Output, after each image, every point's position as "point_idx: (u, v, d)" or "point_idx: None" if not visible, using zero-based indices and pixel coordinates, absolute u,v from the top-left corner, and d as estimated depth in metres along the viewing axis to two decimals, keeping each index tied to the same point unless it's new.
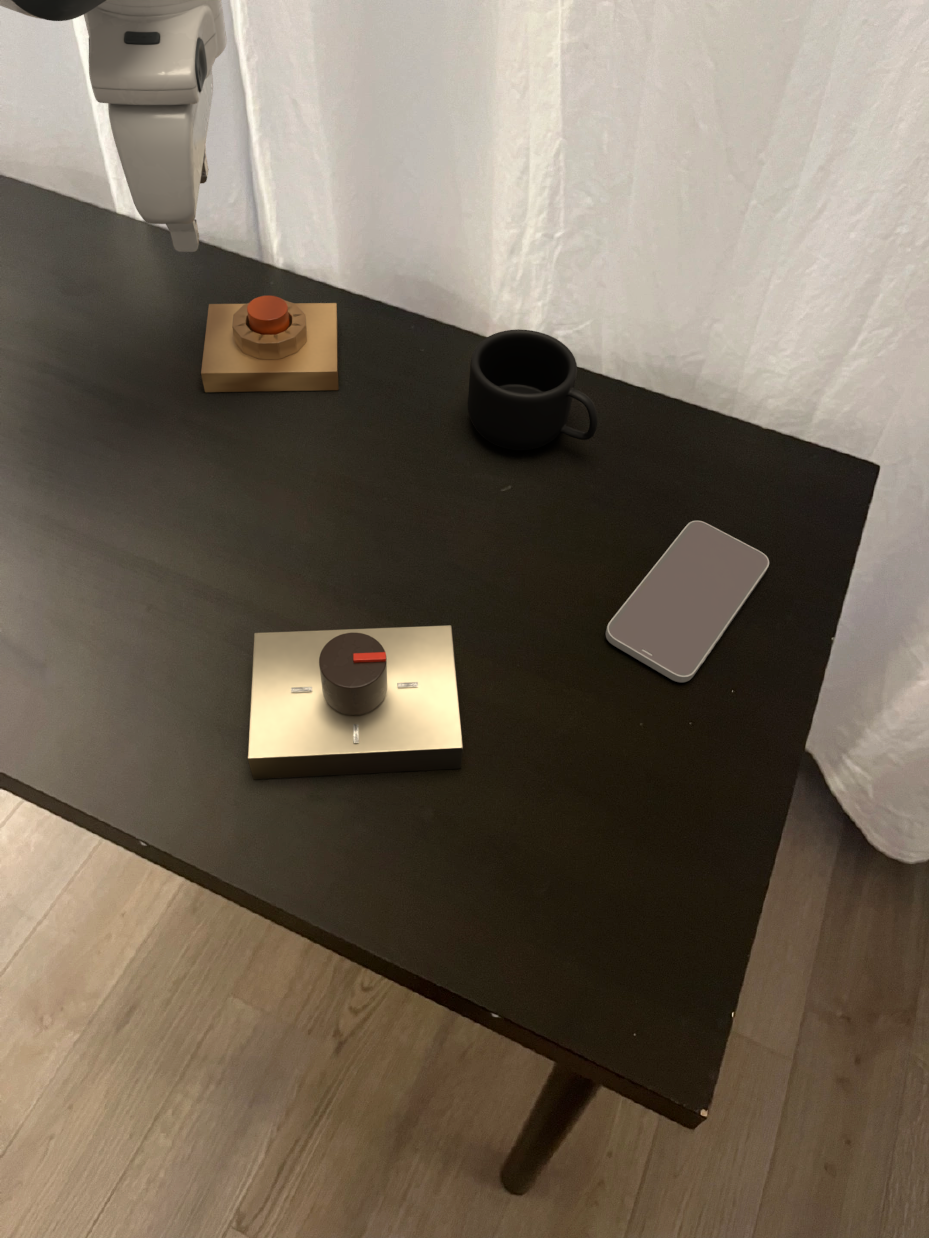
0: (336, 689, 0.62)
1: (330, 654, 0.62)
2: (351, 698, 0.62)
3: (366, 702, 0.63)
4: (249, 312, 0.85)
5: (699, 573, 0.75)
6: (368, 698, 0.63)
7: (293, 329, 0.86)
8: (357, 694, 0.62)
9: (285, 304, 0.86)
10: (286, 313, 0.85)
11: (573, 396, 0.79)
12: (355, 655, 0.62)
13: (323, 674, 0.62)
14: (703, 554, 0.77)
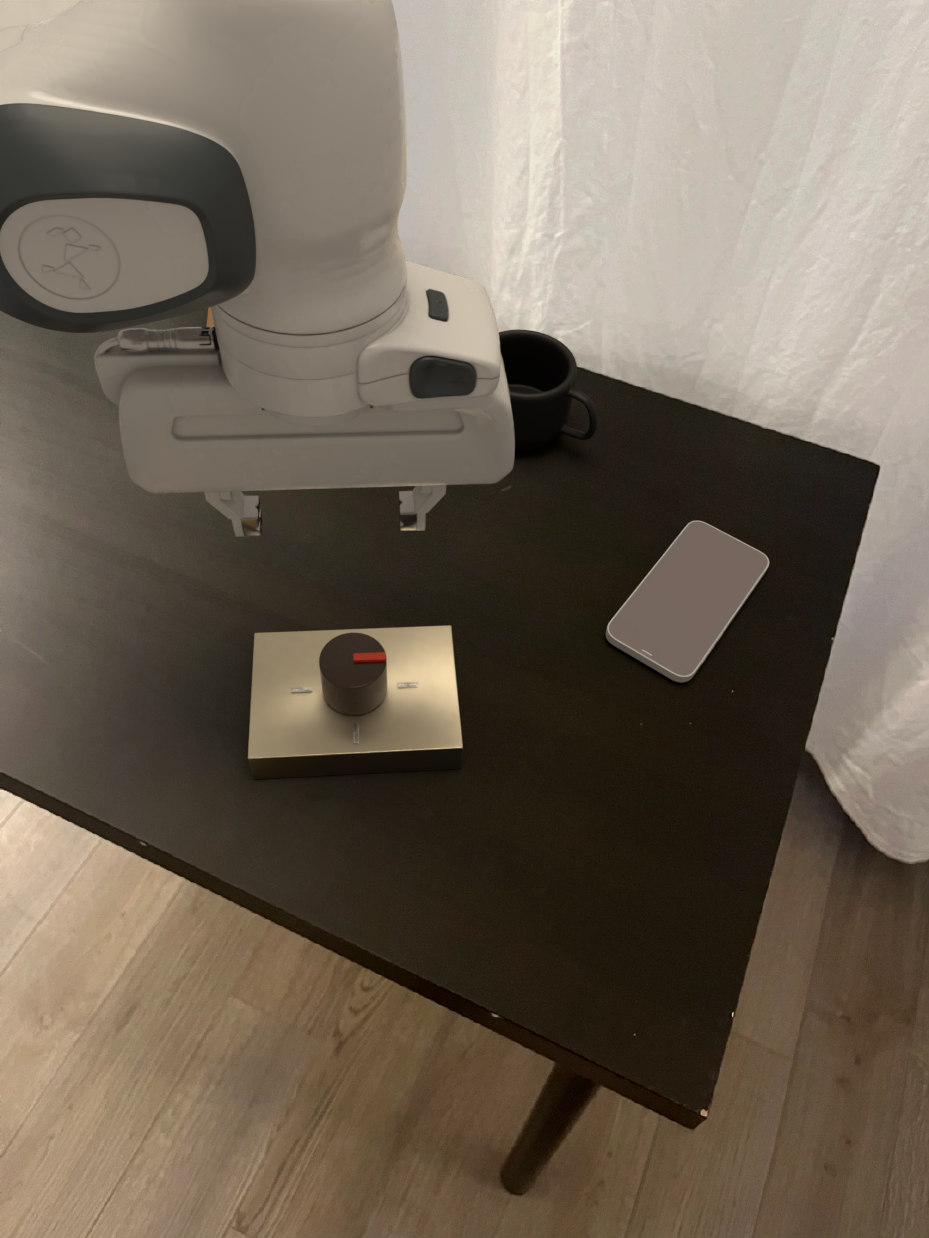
0: (336, 689, 0.62)
1: (330, 654, 0.62)
2: (351, 698, 0.62)
3: (366, 702, 0.63)
4: None
5: (699, 573, 0.75)
6: (368, 698, 0.63)
7: None
8: (357, 694, 0.62)
9: None
10: None
11: (573, 396, 0.79)
12: (355, 655, 0.62)
13: (323, 674, 0.62)
14: (703, 554, 0.77)
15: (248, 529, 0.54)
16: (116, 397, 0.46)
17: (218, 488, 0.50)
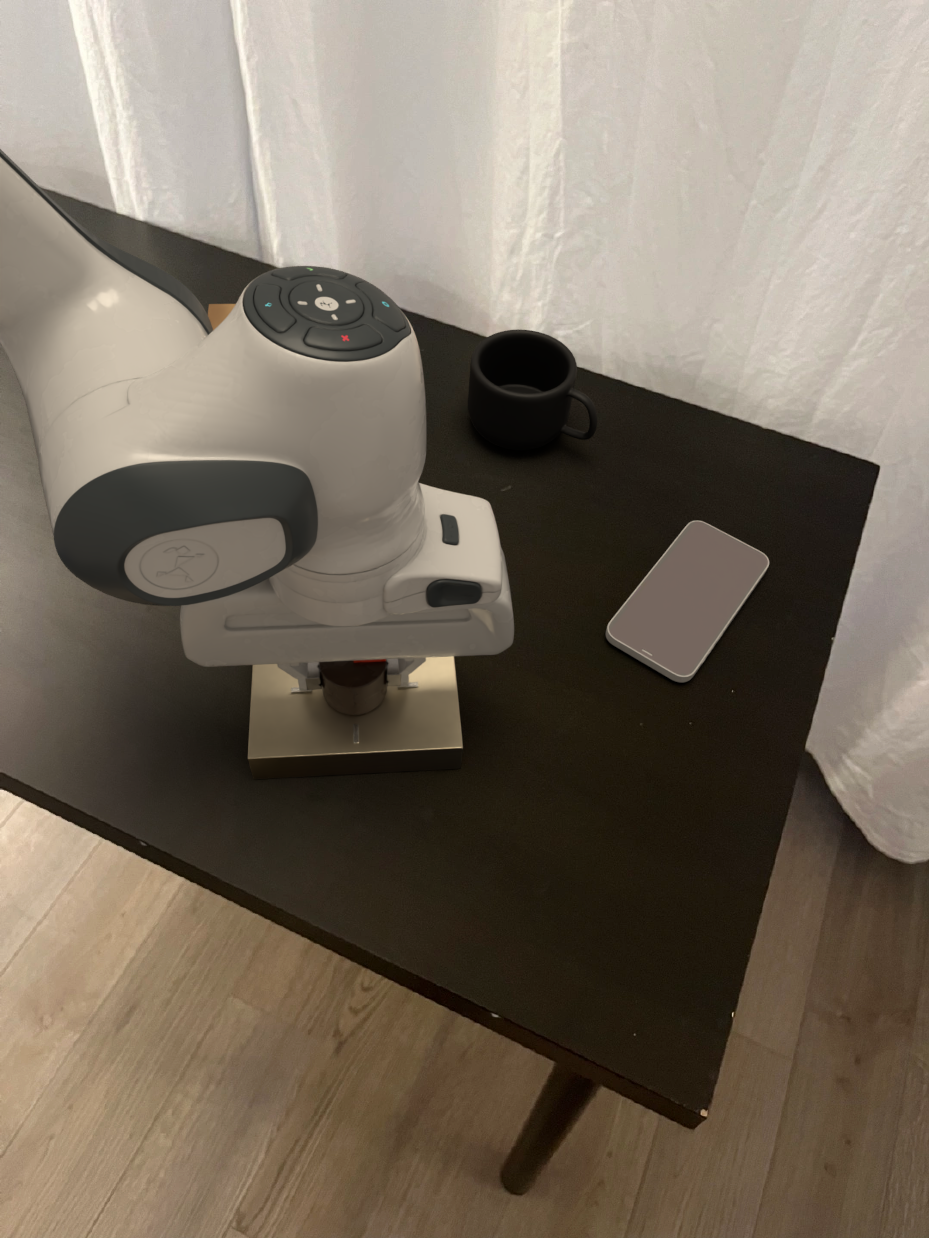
0: (336, 689, 0.62)
1: None
2: (351, 698, 0.62)
3: (366, 702, 0.63)
4: None
5: (699, 573, 0.75)
6: (368, 698, 0.63)
7: None
8: (357, 694, 0.62)
9: None
10: None
11: (573, 396, 0.79)
12: None
13: (323, 674, 0.62)
14: (703, 554, 0.77)
15: (311, 685, 0.63)
16: None
17: (260, 662, 0.59)
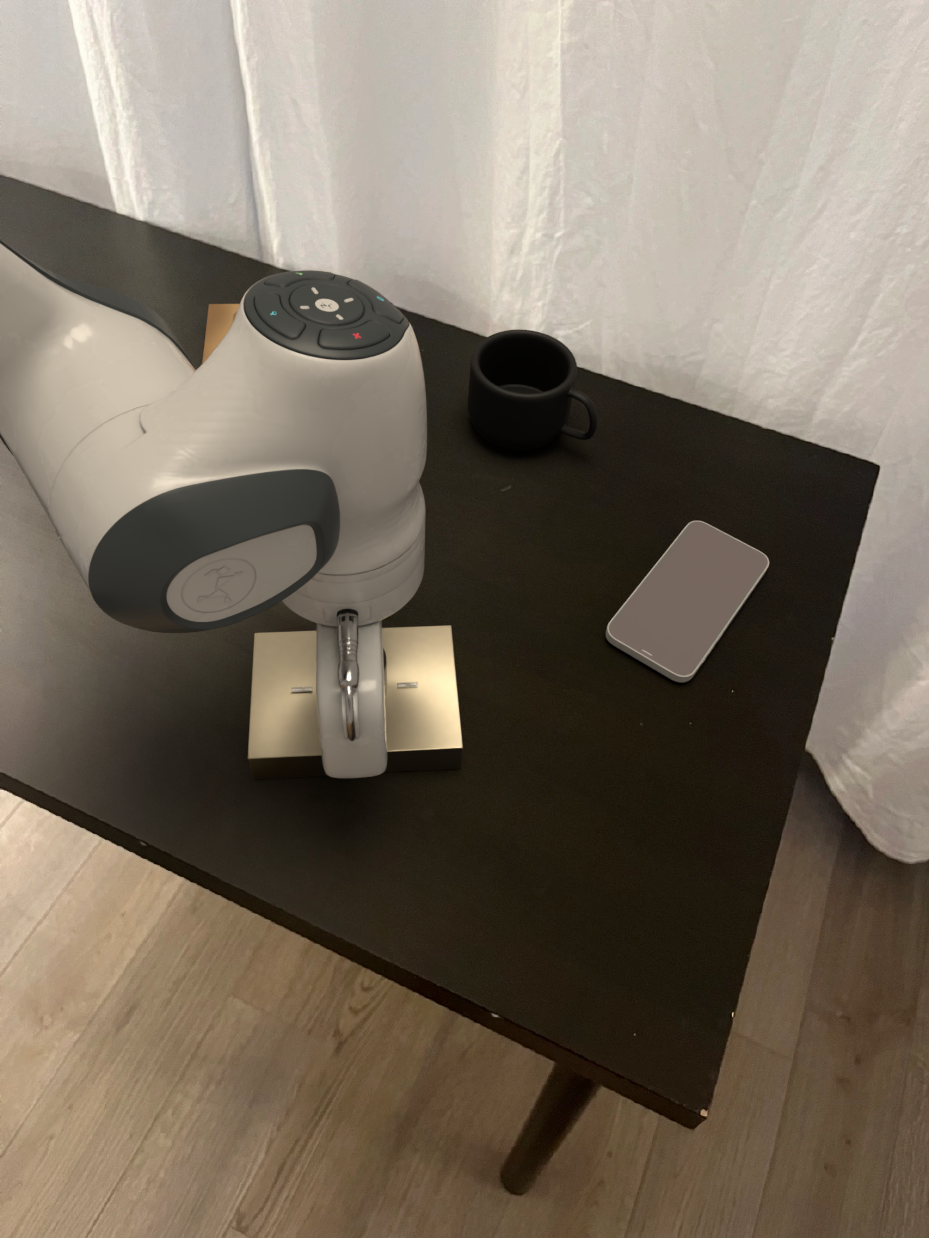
0: None
1: None
2: (386, 670, 0.64)
3: None
4: None
5: (699, 573, 0.75)
6: None
7: None
8: None
9: None
10: None
11: (573, 396, 0.79)
12: None
13: None
14: (703, 554, 0.77)
15: None
16: (359, 730, 0.51)
17: None
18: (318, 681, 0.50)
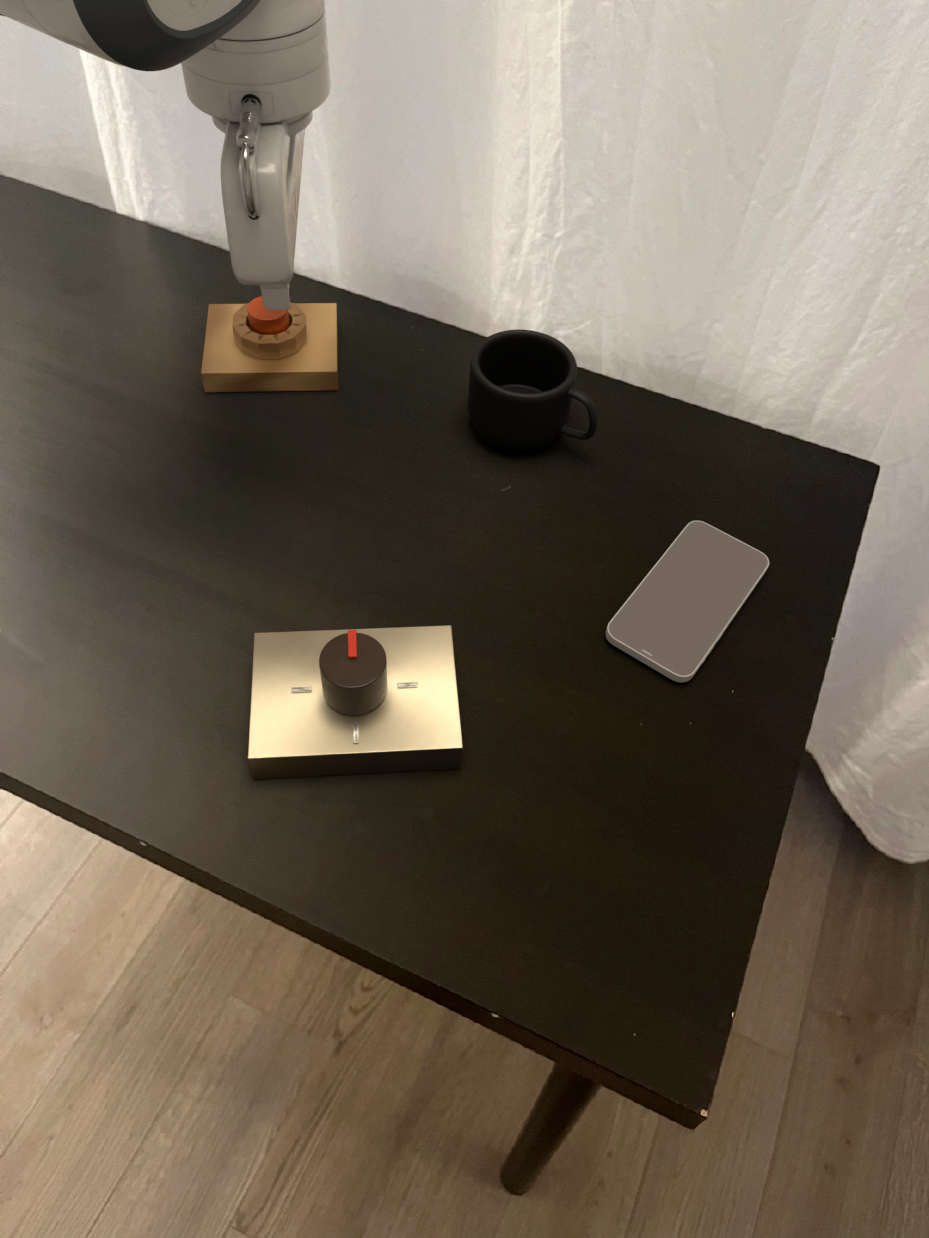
0: (382, 677, 0.62)
1: (346, 678, 0.61)
2: (386, 670, 0.64)
3: None
4: (249, 312, 0.85)
5: (699, 573, 0.75)
6: None
7: (293, 329, 0.86)
8: None
9: None
10: (286, 313, 0.85)
11: (573, 396, 0.79)
12: (351, 654, 0.62)
13: (369, 683, 0.61)
14: (703, 554, 0.77)
15: (289, 292, 0.66)
16: (259, 205, 0.55)
17: None
18: (221, 157, 0.55)
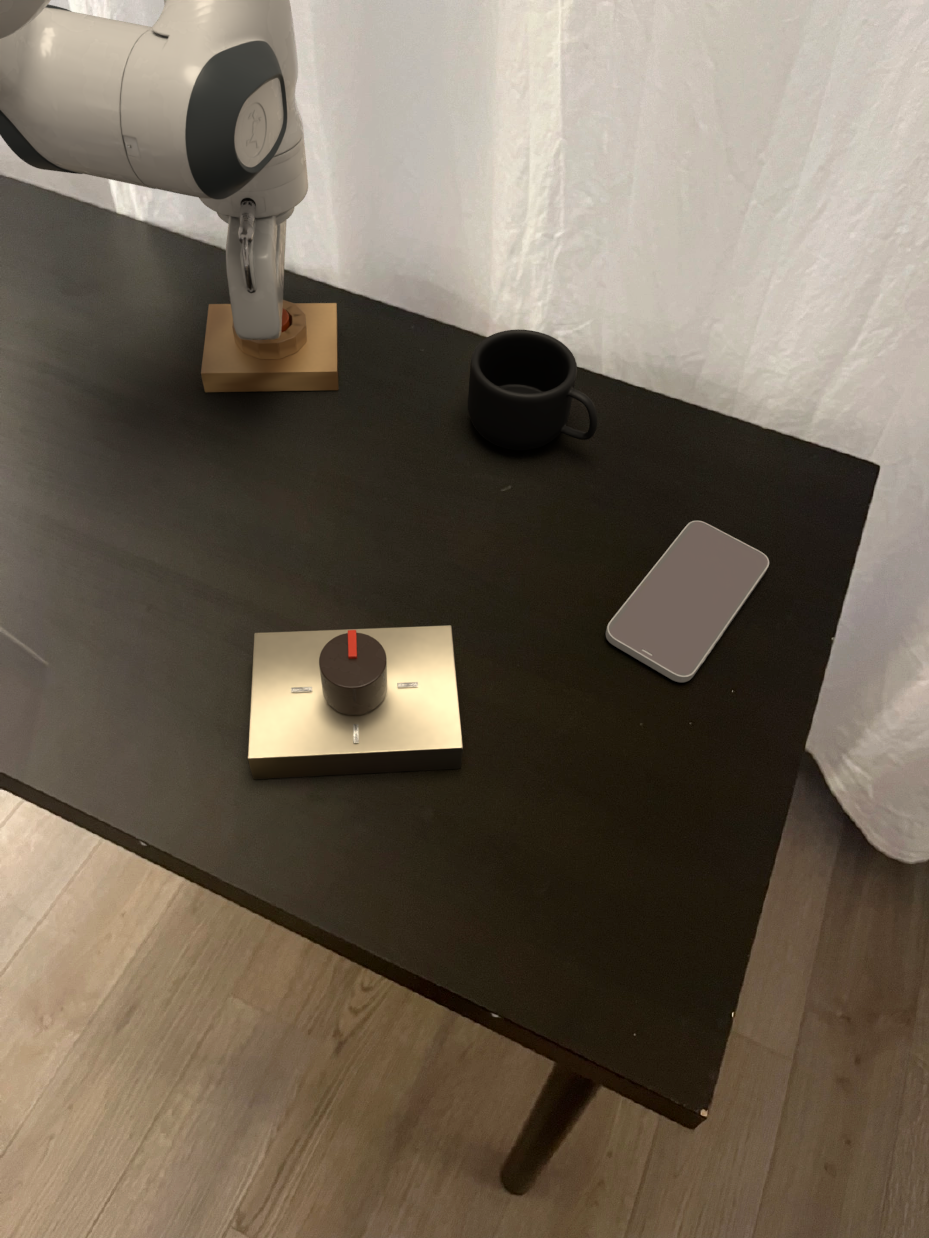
0: (382, 677, 0.62)
1: (346, 678, 0.61)
2: (386, 670, 0.64)
3: None
4: None
5: (699, 573, 0.75)
6: None
7: (293, 329, 0.86)
8: None
9: (286, 313, 0.87)
10: (287, 322, 0.86)
11: (573, 396, 0.79)
12: (351, 654, 0.62)
13: (369, 683, 0.61)
14: (703, 554, 0.77)
15: None
16: (255, 282, 0.72)
17: None
18: (226, 246, 0.72)
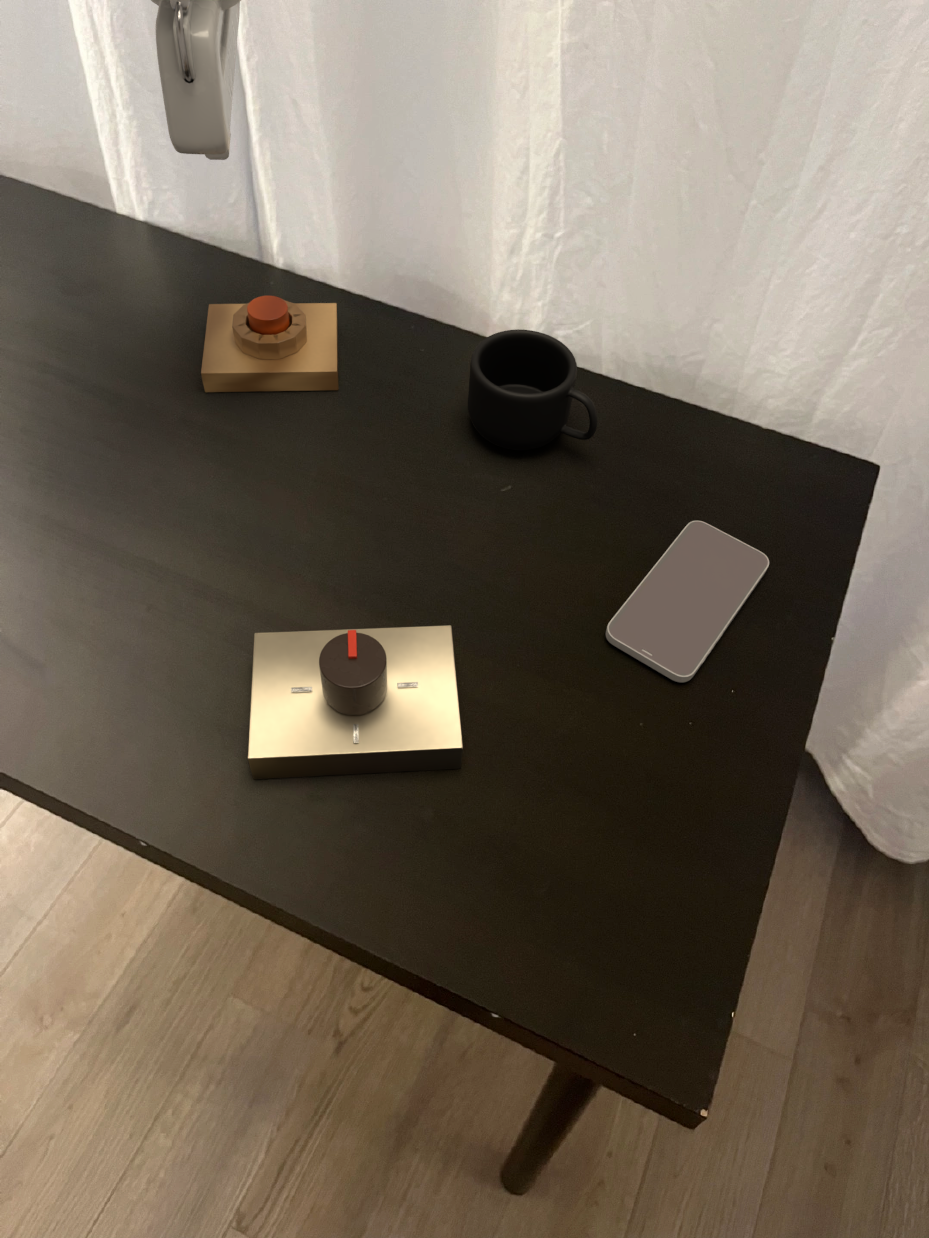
0: (382, 677, 0.62)
1: (346, 678, 0.61)
2: (386, 670, 0.64)
3: None
4: (249, 312, 0.85)
5: (699, 573, 0.75)
6: None
7: (293, 329, 0.86)
8: None
9: (285, 304, 0.86)
10: (286, 313, 0.85)
11: (573, 396, 0.79)
12: (351, 654, 0.62)
13: (369, 683, 0.61)
14: (703, 554, 0.77)
15: None
16: (193, 67, 0.57)
17: None
18: (156, 20, 0.57)
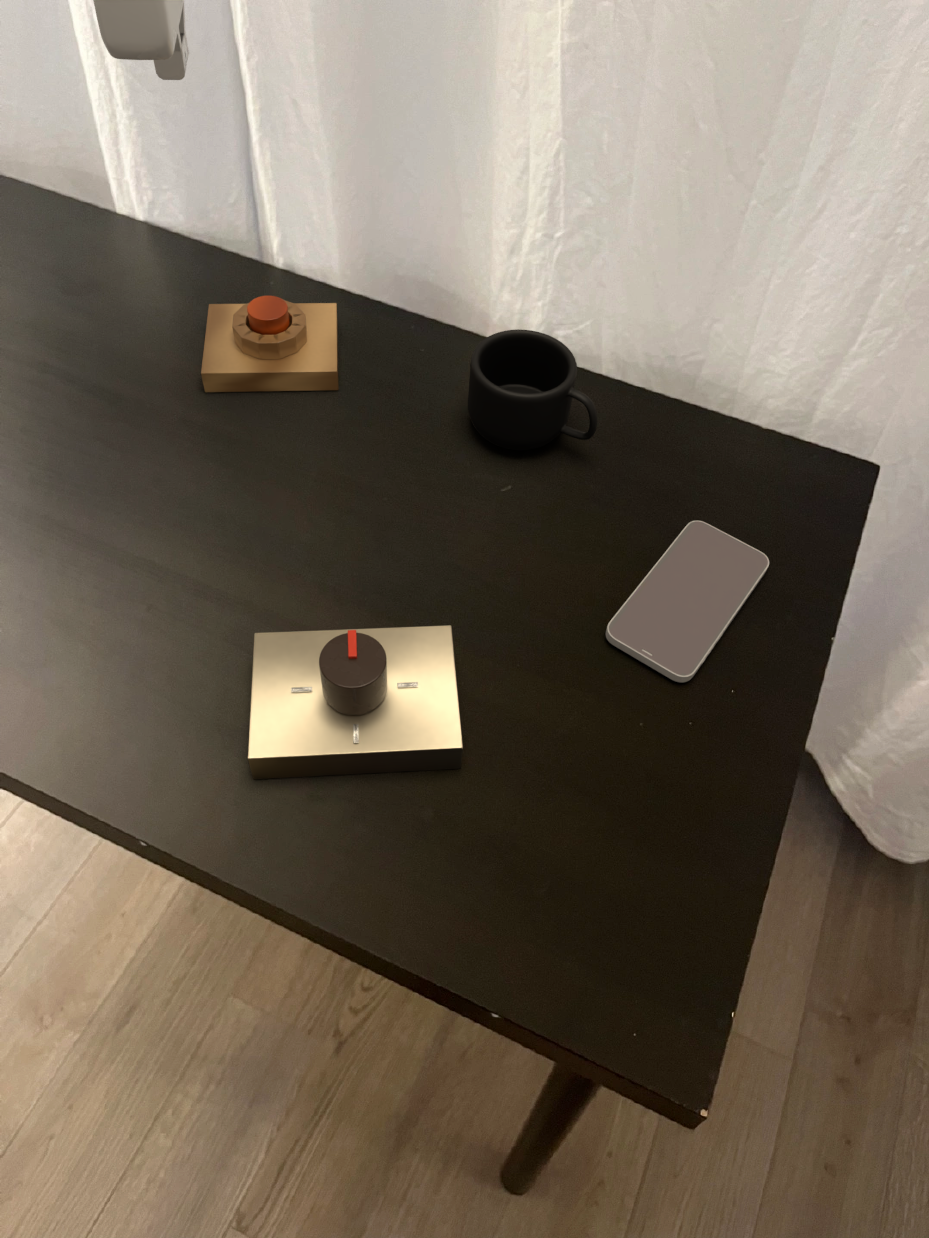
0: (382, 677, 0.62)
1: (346, 678, 0.61)
2: (386, 670, 0.64)
3: None
4: (249, 312, 0.85)
5: (699, 573, 0.75)
6: None
7: (293, 329, 0.86)
8: None
9: (285, 304, 0.86)
10: (286, 313, 0.85)
11: (573, 396, 0.79)
12: (351, 654, 0.62)
13: (369, 683, 0.61)
14: (703, 554, 0.77)
15: (184, 59, 0.60)
16: None
17: (179, 20, 0.54)
18: None
